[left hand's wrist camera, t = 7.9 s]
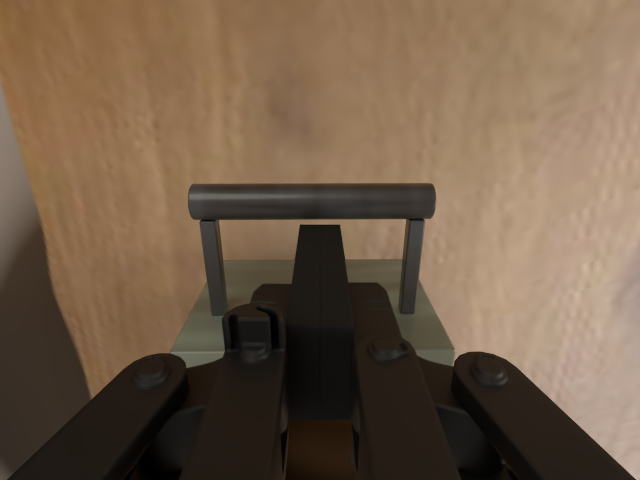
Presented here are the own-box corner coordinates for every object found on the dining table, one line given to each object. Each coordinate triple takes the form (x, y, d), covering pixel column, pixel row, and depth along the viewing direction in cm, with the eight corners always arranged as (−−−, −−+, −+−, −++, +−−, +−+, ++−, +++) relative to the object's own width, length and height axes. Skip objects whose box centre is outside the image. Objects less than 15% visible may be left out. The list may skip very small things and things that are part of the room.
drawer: (206, 157, 18) (140, 206, 11) (418, 157, 19) (481, 204, 12) (243, 483, 28) (219, 620, 21) (386, 481, 28) (410, 617, 21)
